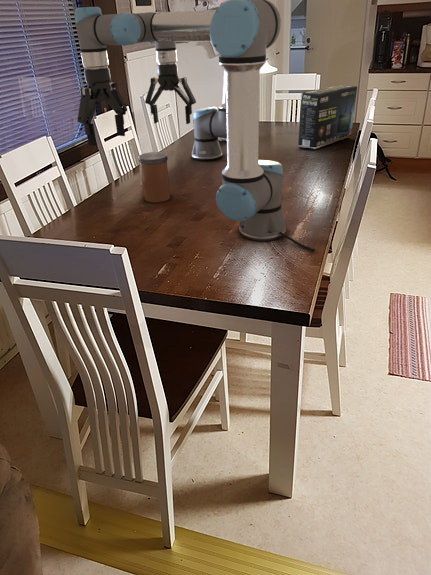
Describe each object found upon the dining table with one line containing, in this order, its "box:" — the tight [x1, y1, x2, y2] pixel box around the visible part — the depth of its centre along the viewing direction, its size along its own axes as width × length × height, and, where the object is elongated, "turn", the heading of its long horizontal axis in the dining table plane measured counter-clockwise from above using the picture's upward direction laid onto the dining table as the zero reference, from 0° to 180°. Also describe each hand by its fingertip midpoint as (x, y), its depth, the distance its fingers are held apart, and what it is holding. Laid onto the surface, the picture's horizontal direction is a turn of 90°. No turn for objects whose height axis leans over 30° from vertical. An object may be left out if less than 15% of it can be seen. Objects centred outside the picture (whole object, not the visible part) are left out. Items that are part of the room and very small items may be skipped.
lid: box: [138, 151, 169, 164], centre depth 173 cm, size 11×11×2 cm
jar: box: [139, 160, 171, 203], centre depth 177 cm, size 10×10×16 cm
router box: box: [297, 84, 358, 151], centre depth 238 cm, size 36×11×27 cm, turn 134°
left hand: (172, 123), depth 181 cm, fingers open, 13 cm apart
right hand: (107, 140), depth 148 cm, fingers open, 13 cm apart
